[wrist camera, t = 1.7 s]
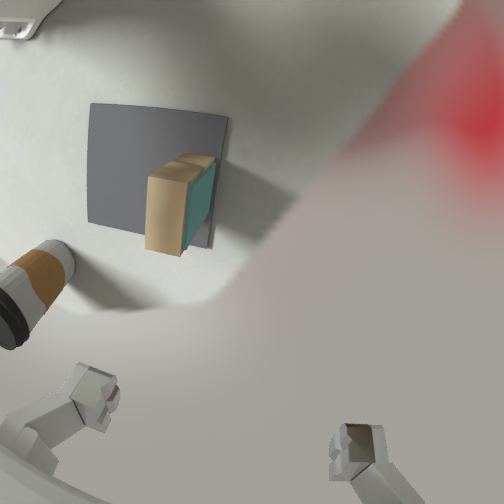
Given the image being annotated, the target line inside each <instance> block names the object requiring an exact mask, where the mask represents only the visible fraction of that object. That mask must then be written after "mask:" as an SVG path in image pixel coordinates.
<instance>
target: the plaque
mask: <svg viewBox="0 0 504 504" xmlns="http://www.w3.org/2000/svg"><path fill="white" fill-rule="evenodd" d="M214 161H215V157H211V156H206V155H200V154H194V153H188V152H185V153H183V154H181V155H180V156H178V157H177V158H175V159H174V160H172V161H171V162H169V163H168V164H166V165H165V166H163V167H161V168H160V169H158V170H157V171H156V172H154V173H153V174H151V175H150V176H148V186H147V202H146V223H145V249H148V250H152V251H156V252H161V253H165V254H169V255H173V256H178V257H180V256H181V254H182V253H183V251H184V250H186V249H187V247H188V246H189V244H190V243H191V241H192V239H193V238H194V236H195V234H196V233H197V231H198V229H199V228H200V226H201V224H202V223H203V221H204V220H205V218H206V216H207V215H208V213H209V208H210V201H211V194H212V188H213V181H214V175H215V168H216V163H214Z"/></svg>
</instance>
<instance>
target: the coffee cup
mask: <svg viewBox="0 0 504 504" xmlns="http://www.w3.org/2000/svg"><path fill="white" fill-rule="evenodd" d="M74 270H75V260H74V257H73V255H72V253H71V251H70V250H69V249H68V247H67V246H66V245H65V244H63V243H62V242H60V241H58V240H46V241H45V242H43V243H42V244H40V245H39V246H37V247H36V248H34V249H32V250H31V251H29V252H28V253H26V254H25V255H23V256H22V257H21V258H19V259H18V260H16V261H15V262H14V263H12V264H11V265H9V266H8V267H7V268H6V269H5V270H4V271H2V272H1V273H0V346H1V347H3V348H5V349H7V350H14V349H15V348H16V347H19V346H22V344H23V343H24V342H25V341H27V340H28V338H29V334H30V332H31V331H32V329H33V328H34V327H35V325H36V324H37V322H38V321H39V320H40V318H41V317H42V316H43V315H44V314H45V312H46V311H47V310H48V309H49V307H50V306H51V305H52V303H53V302H54V301H55V299H56V298H57V297H58V295H59V294H60V293H61V291H62V290H63V288H64V286H65V285H66V284H67V283H68V281H69V280H70V279H71V278H72V276H73V274H74Z"/></svg>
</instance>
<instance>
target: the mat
mask: <svg viewBox="0 0 504 504" xmlns="http://www.w3.org/2000/svg"><path fill="white" fill-rule="evenodd" d="M227 121H228V117H224V116H217V115H211V114H204V113H197V112H190V111H182V110H174V109H165V108H155V107H145V106H132V105H118V104H97V103H92V104H90V115H89V129H88V150H87V211H88V222H90V223H95V224H99V225H103V226H108V227H112V228H117V229H121V230H125V231H130V232H134V233H139V234H143V235H145V223H146V202H147V186H148V176H150V175H151V174H153V173H154V172H156V171H157V170H158V169H160V168H161V167H163V166H165V165H166V164H168V163H169V162H171V161H172V160H174V159H175V158H177V157H178V156H180V155H181V154H183V153H185V152H188V153H194V154H200V155H206V156H211V157H215V161H214V163H216V168H215V175H214V181H213V188H212V194H211V201H210V208H209V213H208V215H207V216H206V218H205V220H204V221H203V223H202V224H201V226H200V228H199V229H198V231H197V233H196V234H195V236H194V238H193V239H192V241H191V243H190V244H189V245H192V246H197V247H201V248H206V249H207V247H208V240H209V233H210V226H211V219H212V212H213V205H214V199H215V192H216V186H217V180H218V173H219V167H220V161H221V155H222V149H223V144H224V138H225V132H226V127H227Z"/></svg>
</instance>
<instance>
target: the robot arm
mask: <svg viewBox="0 0 504 504" xmlns="http://www.w3.org/2000/svg"><path fill="white" fill-rule="evenodd" d="M61 1H62V0H0V38H2V39H23V40H27V39H29V38H31V37H32V35H33V34H34V33H35V31H36V30H37V28H38V26H39V25H40V23H41V21H42V20H43V19H44V18H45V16H46V15H47V14H49V13H50V12H51V11H52V10H53V9H54V8H55V7H56V6H57V5H58V4H59V3H60V2H61ZM116 383H117V377H116V376H115V375H112V374H110V373H107V372H104V371H101V370H98V369H96V368H93V367H92V366H89V365H86V364H84V363H81V362H79V363H77V364H76V365H75V366H74V368H73V370H72V371H71V373H70V374H69V376H68V377H67V379H66V380H65V382H64V383H63V385H62V386H61V388H60V390H59V391H58V393H56V392H53V393H51V394H48V395H46V396H44V397H42V398H40V399H38V400H36V401H34V402H32V403H29V404H27V405H25V406H23V407H21V408H19V409H17V410H14V411H12V412H10V413H8V414H7V416H6V418H5V419H4V421H3V422H2V424H1V426H0V504H111V503H109V502H107V501H104V500H102V499H99V498H97V497H95V496H93V495H90V494H88V493H86V492H84V491H81V490H79V489H77V488H75V487H73V486H71V485H69V484H67V483H65V482H63V481H61V480H59V479H57V478H55V477H54V476H53V474H54V471H55V469H56V467H57V465H58V463H59V461H58V458H57V457H56V456H55V455H54V454H53V452H52V451H51V450H50V449H52V448H53V447H55V446H57V445H58V444H60V443H61V442H63V441H64V440H66V439H67V438H69V437H70V436H72V435H73V434H75V433H76V432H78V431H79V430H81V429H82V428H84V427H85V426H87V427H90V428H92V429H95V430H98V431H100V432H103V433H105V431H106V429H107V427H108V425H109V423H110V421H111V418H110V413H112V412H114V411H115V410H116V408H117V406H118V403H119V399H120V389H119V388H118V386H117V385H116ZM84 425H85V426H84ZM329 456H330V457H331V459H332V460H333V461H332V463H331V464H330V465H329V480H330V481H351V482H350V484H351V485H352V487H353V489H354V490H355V492H356V493H357V495H358V497H359V498H360V500H361V502H362V503H363V504H425V501H424V500H423V499H422V498H421V496H420V495H419V494H418V493H417V492H416V490H415V489H414V488H413V487H412V486H411V485H410V483H409V482H408V481H407V480H406V479H405V477H404V476H403V475H402V474H401V473H400V472H399V470H398V469H397V468H396V467H395V465H394V464H393V463H389V460H388V453H387V446H386V440H385V433H384V428H383V426H381V425H368V424H348V423H344V424H342V425H341V426H340V428H339V432H337V433H335V434H334V435H333V437H332V438H331V441H330V445H329Z"/></svg>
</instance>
